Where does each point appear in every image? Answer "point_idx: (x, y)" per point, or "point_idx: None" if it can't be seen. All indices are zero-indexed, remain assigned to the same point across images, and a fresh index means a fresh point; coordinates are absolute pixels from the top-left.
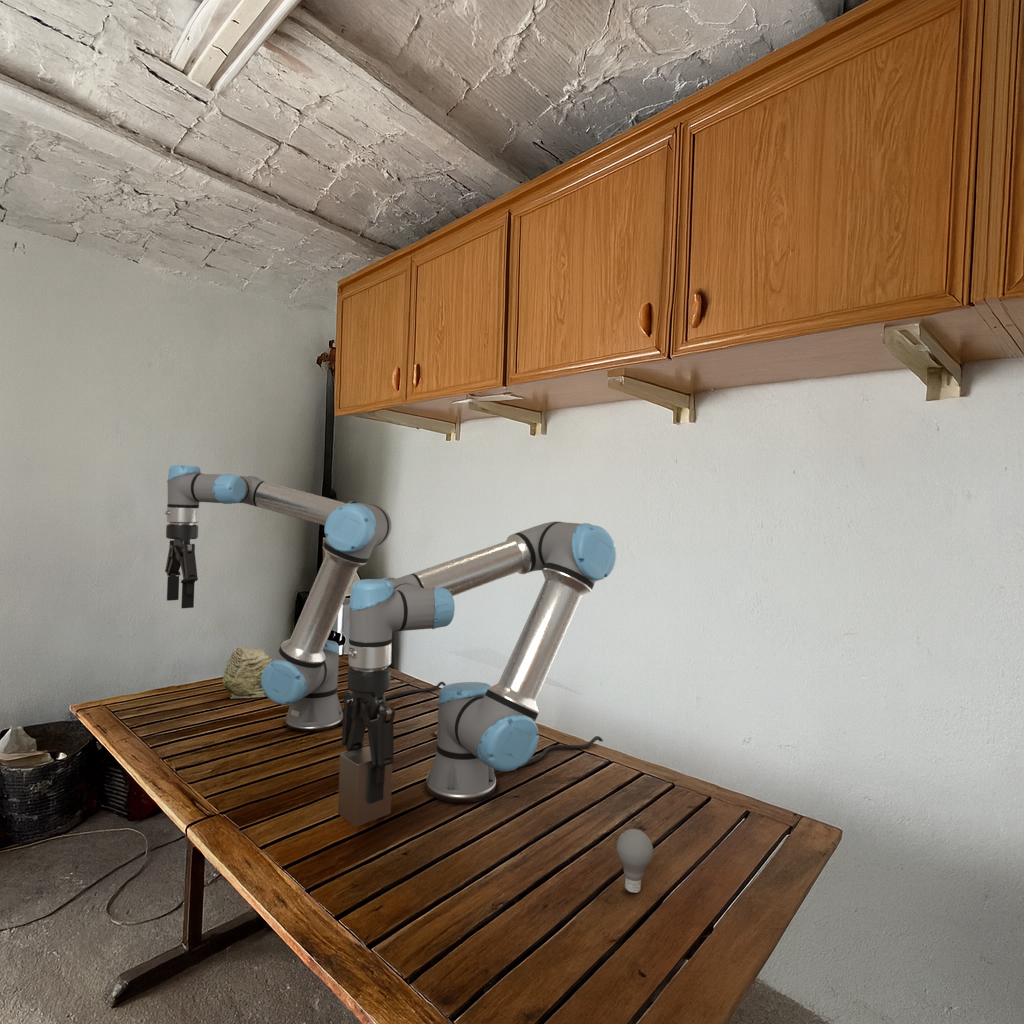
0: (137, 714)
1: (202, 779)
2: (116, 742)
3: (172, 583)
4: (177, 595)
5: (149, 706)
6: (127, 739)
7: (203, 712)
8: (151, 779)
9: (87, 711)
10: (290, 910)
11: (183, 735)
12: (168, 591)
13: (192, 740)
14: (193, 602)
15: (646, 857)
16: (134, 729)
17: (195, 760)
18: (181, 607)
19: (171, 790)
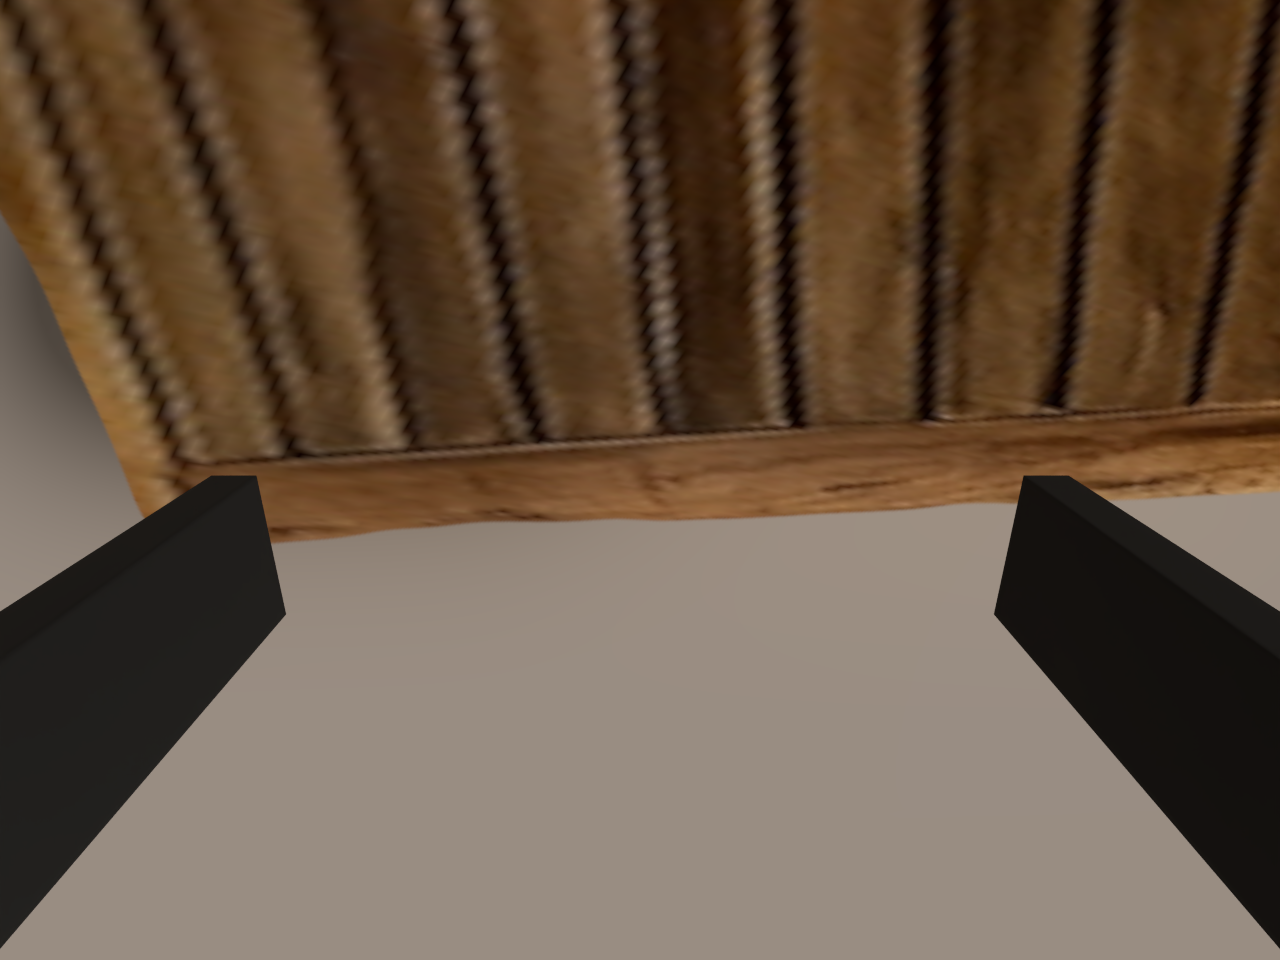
0: (373, 384)
1: (1201, 360)
2: (667, 507)
3: (83, 752)
4: (217, 522)
5: (277, 318)
6: (659, 473)
7: (486, 126)
8: None
9: None
10: None
11: (744, 295)
12: (207, 697)
13: (823, 281)
14: (1117, 512)
15: None
16: (561, 432)
17: (1028, 331)
18: (1005, 619)
19: (1196, 459)
